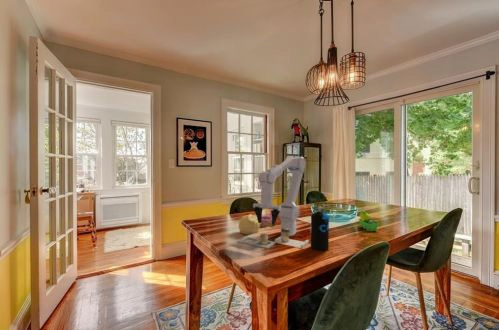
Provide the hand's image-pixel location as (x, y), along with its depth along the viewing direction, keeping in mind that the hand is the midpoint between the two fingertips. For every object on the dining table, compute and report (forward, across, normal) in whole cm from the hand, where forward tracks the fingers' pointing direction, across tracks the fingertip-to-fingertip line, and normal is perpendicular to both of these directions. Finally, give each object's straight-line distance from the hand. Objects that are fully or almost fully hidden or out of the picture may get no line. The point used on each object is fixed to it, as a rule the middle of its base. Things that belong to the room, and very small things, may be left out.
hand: (266, 223), depth 117 cm
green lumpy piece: (+10, +39, +59) cm, 71 cm away
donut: (+10, -18, +32) cm, 38 cm away
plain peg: (+8, +8, +4) cm, 12 cm away
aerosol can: (+10, +25, +4) cm, 27 cm away
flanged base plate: (+10, +12, +4) cm, 16 cm away
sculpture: (+10, -16, +10) cm, 21 cm away
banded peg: (+10, +1, -5) cm, 11 cm away
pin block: (+10, -2, -5) cm, 11 cm away
